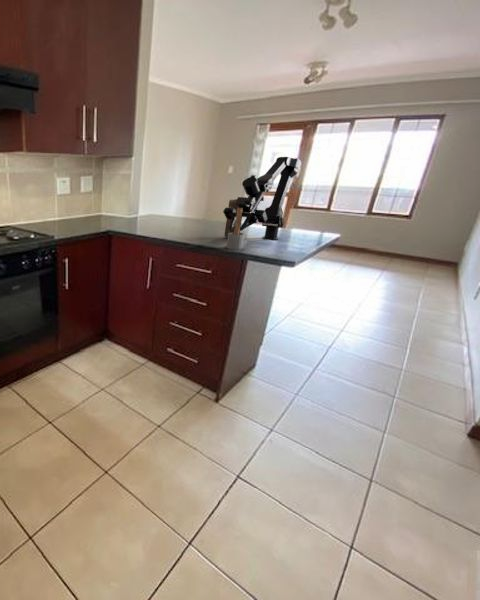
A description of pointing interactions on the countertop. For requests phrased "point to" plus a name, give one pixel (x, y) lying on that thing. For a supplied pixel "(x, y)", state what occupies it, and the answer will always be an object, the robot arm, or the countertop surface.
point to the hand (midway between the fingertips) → (235, 229)
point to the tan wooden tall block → (227, 229)
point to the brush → (238, 221)
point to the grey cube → (235, 241)
